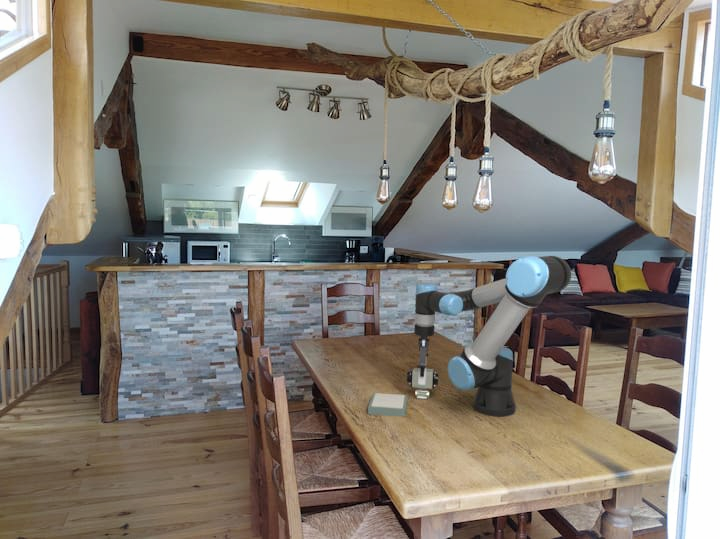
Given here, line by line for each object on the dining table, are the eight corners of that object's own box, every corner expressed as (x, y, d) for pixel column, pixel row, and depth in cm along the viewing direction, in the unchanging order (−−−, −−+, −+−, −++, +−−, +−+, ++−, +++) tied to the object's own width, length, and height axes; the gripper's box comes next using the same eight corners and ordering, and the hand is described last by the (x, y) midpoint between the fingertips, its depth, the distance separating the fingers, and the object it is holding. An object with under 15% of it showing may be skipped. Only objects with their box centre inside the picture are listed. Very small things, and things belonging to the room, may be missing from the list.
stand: (407, 401, 194) (407, 394, 194) (405, 416, 179) (405, 408, 179) (373, 399, 196) (373, 392, 195) (368, 414, 181) (368, 406, 181)
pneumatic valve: (437, 401, 195) (438, 370, 194) (406, 398, 197) (407, 368, 196) (438, 396, 200) (439, 366, 199) (408, 393, 202) (408, 363, 201)
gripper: (415, 317, 208) (413, 368, 211) (413, 331, 184) (410, 388, 186) (434, 318, 207) (432, 369, 210) (434, 332, 183) (431, 390, 185)
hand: (422, 378), depth 198 cm, fingers open, 13 cm apart
